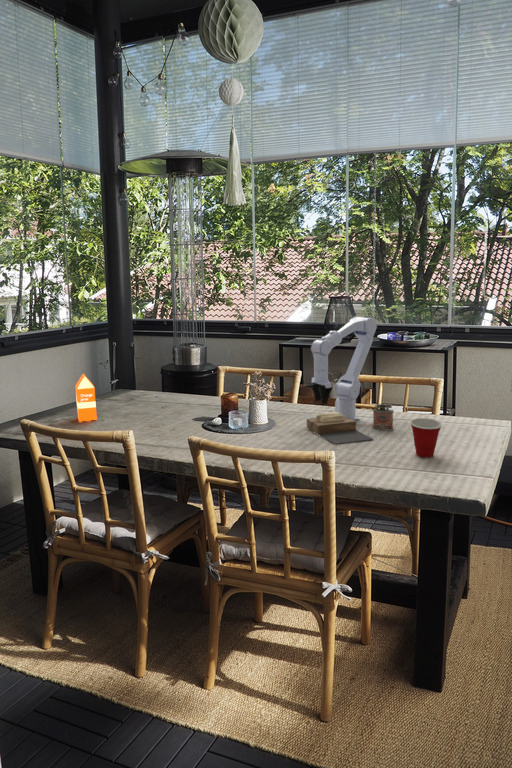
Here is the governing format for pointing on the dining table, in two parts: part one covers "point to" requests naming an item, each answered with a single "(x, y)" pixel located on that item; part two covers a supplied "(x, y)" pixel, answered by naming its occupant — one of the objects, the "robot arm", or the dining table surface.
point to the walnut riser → (331, 425)
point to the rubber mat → (346, 437)
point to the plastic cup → (425, 435)
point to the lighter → (383, 417)
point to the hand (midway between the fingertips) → (321, 402)
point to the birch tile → (330, 417)
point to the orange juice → (85, 400)
